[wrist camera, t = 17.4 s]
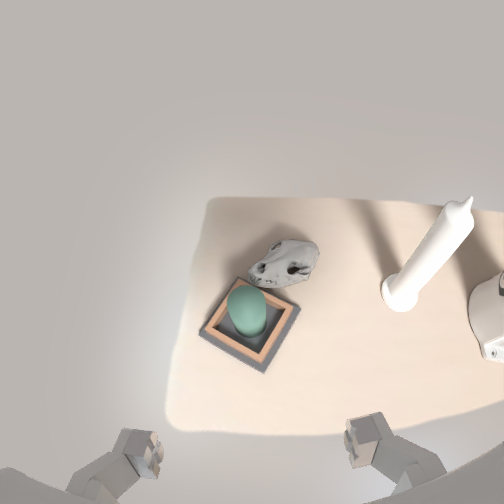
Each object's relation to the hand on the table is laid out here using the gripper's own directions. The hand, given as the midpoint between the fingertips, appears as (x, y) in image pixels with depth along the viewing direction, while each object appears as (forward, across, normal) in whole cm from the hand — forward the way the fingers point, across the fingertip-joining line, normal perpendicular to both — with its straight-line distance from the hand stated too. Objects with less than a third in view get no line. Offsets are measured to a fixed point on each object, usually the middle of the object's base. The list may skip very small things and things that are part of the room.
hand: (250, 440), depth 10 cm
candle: (+35, -25, +10) cm, 44 cm away
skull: (+39, -5, +5) cm, 40 cm away
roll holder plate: (+33, +1, +11) cm, 35 cm away
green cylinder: (+32, +1, +11) cm, 34 cm away
